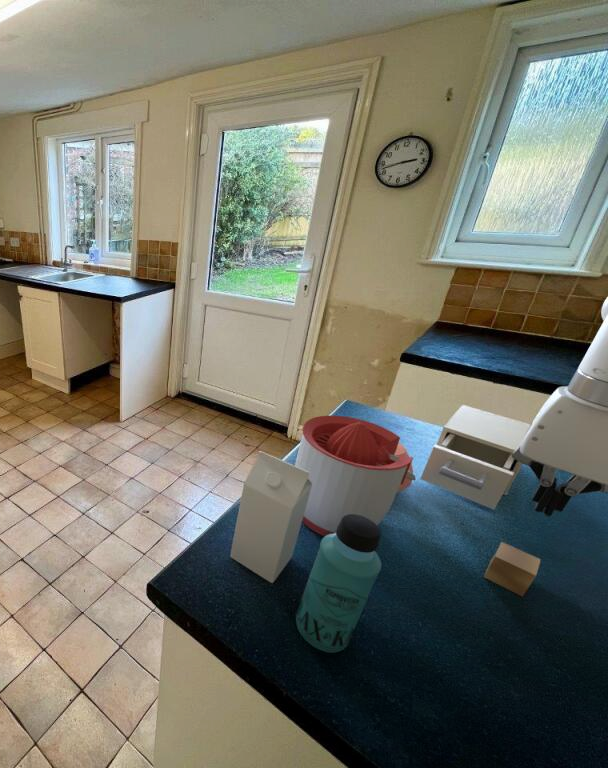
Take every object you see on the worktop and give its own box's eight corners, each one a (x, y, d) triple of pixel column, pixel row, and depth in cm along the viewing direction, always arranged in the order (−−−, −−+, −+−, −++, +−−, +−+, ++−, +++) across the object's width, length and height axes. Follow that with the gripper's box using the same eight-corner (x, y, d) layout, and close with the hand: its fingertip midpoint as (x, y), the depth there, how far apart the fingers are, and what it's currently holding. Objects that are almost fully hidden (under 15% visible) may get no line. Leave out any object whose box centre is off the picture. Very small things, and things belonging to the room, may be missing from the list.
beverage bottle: (286, 611, 58) (318, 501, 50) (336, 617, 57) (378, 506, 49) (300, 659, 52) (340, 543, 44) (356, 666, 52) (408, 550, 43)
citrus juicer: (406, 565, 65) (453, 461, 57) (287, 540, 70) (314, 441, 61) (377, 500, 79) (411, 408, 70) (279, 483, 83) (300, 395, 75)
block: (527, 580, 63) (541, 559, 61) (522, 596, 60) (536, 575, 58) (489, 561, 66) (501, 541, 64) (483, 577, 63) (495, 556, 61)
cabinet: (505, 495, 80) (528, 454, 76) (427, 465, 88) (443, 426, 84) (519, 465, 88) (540, 427, 84) (446, 440, 97) (462, 404, 93)
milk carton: (250, 533, 71) (270, 441, 63) (292, 557, 67) (319, 461, 58) (229, 557, 67) (247, 461, 58) (272, 584, 62) (298, 484, 54)
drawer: (487, 524, 72) (506, 489, 68) (410, 491, 80) (424, 457, 76) (508, 479, 83) (526, 446, 79) (439, 453, 91) (452, 423, 87)
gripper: (717, 405, 47) (626, 527, 54) (534, 365, 57) (481, 472, 65) (723, 427, 42) (624, 556, 50) (525, 379, 53) (468, 493, 61)
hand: (543, 509), depth 58 cm, fingers closed
